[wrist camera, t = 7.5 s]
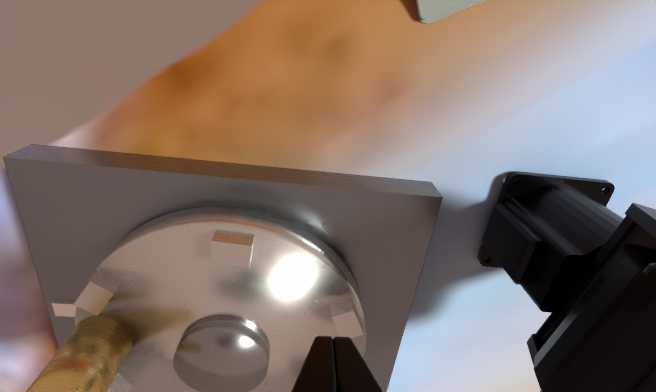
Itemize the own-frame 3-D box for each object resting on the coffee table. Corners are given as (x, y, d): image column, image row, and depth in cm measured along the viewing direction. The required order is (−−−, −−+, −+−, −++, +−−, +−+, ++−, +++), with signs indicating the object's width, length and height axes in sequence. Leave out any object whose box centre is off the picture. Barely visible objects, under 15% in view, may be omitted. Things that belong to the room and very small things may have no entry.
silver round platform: (390, 228, 20) (428, 326, 13) (335, 411, 26) (342, 533, 20) (80, 185, 18) (-46, 275, 11) (106, 394, 25) (36, 523, 18)
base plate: (431, 182, 21) (443, 199, 19) (374, 393, 29) (379, 420, 27) (31, 144, 19) (-1, 158, 17) (91, 382, 27) (74, 410, 25)
